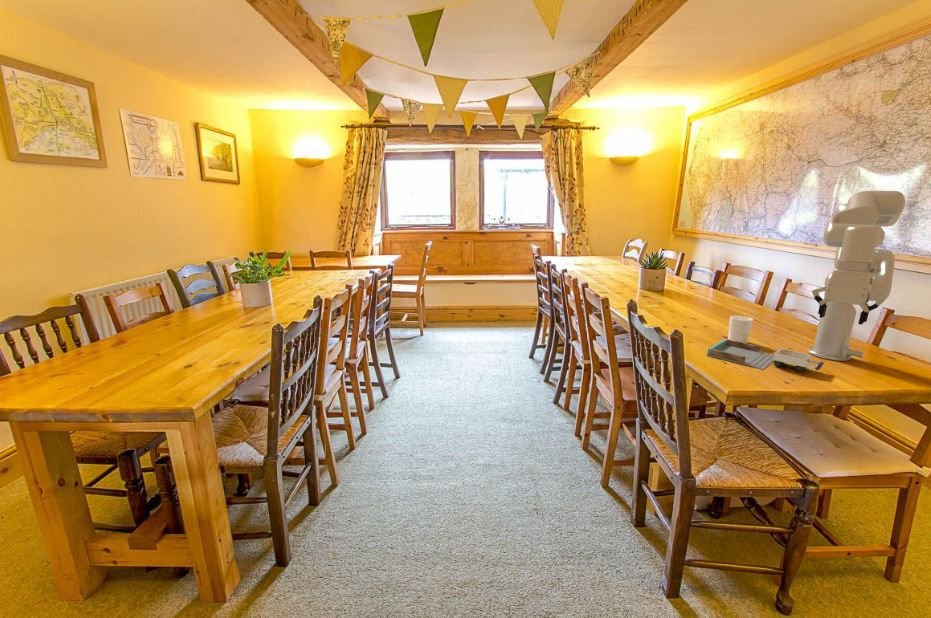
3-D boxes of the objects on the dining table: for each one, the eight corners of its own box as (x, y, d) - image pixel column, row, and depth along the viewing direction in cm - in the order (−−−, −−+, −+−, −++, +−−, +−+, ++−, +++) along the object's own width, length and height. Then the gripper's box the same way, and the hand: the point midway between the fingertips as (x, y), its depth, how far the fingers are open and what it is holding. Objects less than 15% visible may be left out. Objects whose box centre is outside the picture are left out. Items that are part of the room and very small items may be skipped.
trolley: (822, 371, 144) (825, 357, 143) (817, 377, 139) (820, 363, 138) (777, 361, 154) (780, 348, 152) (771, 366, 148) (773, 353, 147)
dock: (778, 356, 158) (779, 350, 157) (763, 369, 146) (764, 362, 145) (724, 344, 171) (725, 338, 170) (706, 355, 158) (707, 348, 158)
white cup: (752, 345, 170) (756, 321, 168) (730, 343, 172) (734, 319, 169) (743, 339, 178) (748, 316, 175) (723, 337, 179) (727, 314, 177)
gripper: (894, 269, 127) (880, 324, 131) (821, 262, 140) (811, 313, 144) (889, 271, 122) (874, 328, 126) (814, 264, 135) (803, 316, 140)
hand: (840, 320), depth 135 cm, fingers open, 9 cm apart
